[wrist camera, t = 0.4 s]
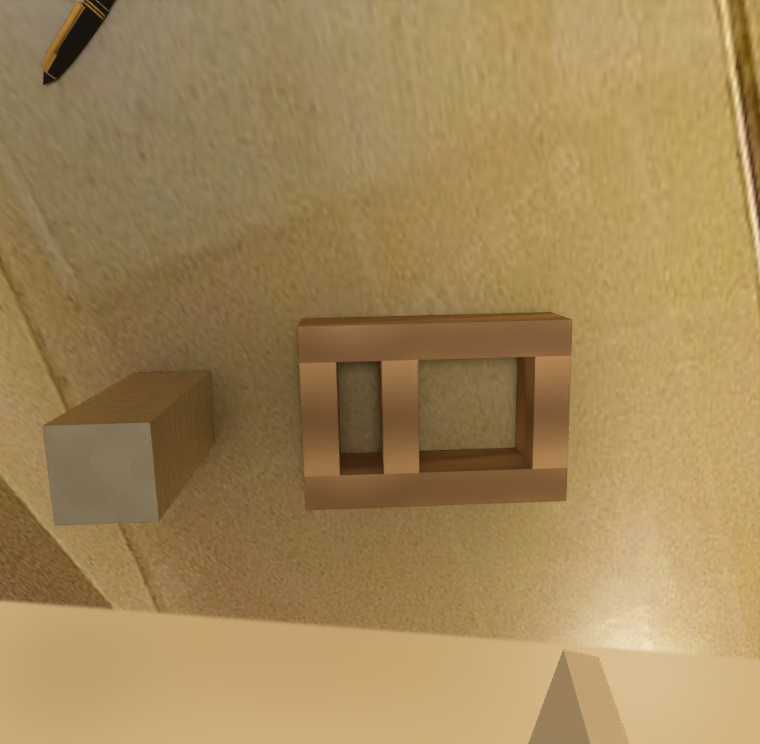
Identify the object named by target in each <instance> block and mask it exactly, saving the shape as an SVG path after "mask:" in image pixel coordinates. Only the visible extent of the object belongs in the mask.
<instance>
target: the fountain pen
mask: <svg viewBox="0 0 760 744" xmlns="http://www.w3.org/2000/svg"><path fill="white" fill-rule="evenodd" d="M113 2H114V0H84V1H83V2H82V4H81V3H80V2H77V4H76V5H75V7H74V9H73V10H72V12H71V13H70V15H69V17H68V18H67V20H66V22H65V23H64V25H63V26H62V28H61V30H60V31H59V33H58V35H57V36H56V38H55V40H54V41H53V43H52V44H51V46H50V48H49V49H48V52H47V54H46V56H45V58H44V60H43V62H42V64H41V67H42V68H43V70H44V77H43V85H44V84H46V83H49V82H51V81H53V80H56V79H57V78H58V77H59V76H60V75H61V74H62V73H63V72H64V71H65V70H66V69H67V68H68V67H69V65H70V64H71V63H72V62H73V60H74V59H75V58H76V57H77V55H78V54H79V53H80V51H81V50H82V49H83V48H84V46H85V45H86V44H87V42H88V41H89V40H90V38H91V37H92V35H93V34H94V33H95V31H96V30H97V28H98V27H99V25H100V24H101V23H102V21H103V20H104V18H105V17H106V15H107V14H108V13H109V8H110V6H111V5H112V3H113Z"/></svg>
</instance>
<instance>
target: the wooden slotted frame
mask: <svg viewBox="0 0 760 744" xmlns="http://www.w3.org/2000/svg"><path fill="white" fill-rule="evenodd" d="M571 345H572V319H569V318H566V317H563V316H560V315H557V314H554V313H551V312H547V313H508V314H468V315H429V316H389V317H350V318H311V319H302V321H301V322H300V324H299V325H298V350H299V372H300V394H301V416H302V439H303V461H304V483H305V506H306V510H325V509H353V508H381V507H409V506H436V505H464V504H492V503H520V502H548V501H566V492H567V462H568V433H569V404H570V374H571ZM505 357H517V402H516V448H498V449H467V450H437V451H419V409H418V360H433V359H469V358H505ZM361 361H379V386H380V432H381V452H376V453H346V454H341V441H340V411H339V381H338V362H361Z"/></svg>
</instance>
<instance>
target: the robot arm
mask: <svg viewBox="0 0 760 744" xmlns="http://www.w3.org/2000/svg"><path fill="white" fill-rule="evenodd" d="M529 744H629V742H628V739H627V736H626V733H625V730H624V727H623V725H622V722H621V719H620V716H619V713H618V710H617V708H616V705H615V702H614V700H613V697H612V694H611V691H610V688H609V685H608V682H607V679H606V677H605V674H604V671H603V668H602V665H601V663H600V660H599V658H598V657H595V656H590V655H586V654H582V653H577V652H573V651H569V650H564V649H563V652H562V655H561V657H560V660H559V662H558V666H557V668H556V671H555V673H554V676H553V679H552V681H551V685H550V687H549V690H548V692H547V695H546V698H545V700H544V703H543V706H542V708H541V711H540V714H539V717H538V719H537V722H536V725H535V727H534V730H533V733H532V736H531V738H530V741H529Z"/></svg>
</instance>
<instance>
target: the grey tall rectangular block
mask: <svg viewBox="0 0 760 744" xmlns="http://www.w3.org/2000/svg"><path fill="white" fill-rule="evenodd" d="M43 434H44V442H45V450H46V459H47V467H48V475H49V483H50V492H51V500H52V508H53V516H54V525H55V526H57V525H84V524H112V523H139V522H159V521H160V519H161V518H162V517H163V515H164V514H165V512H166V511H167V509H168V508H169V507H170V505H171V504H172V502H173V501H174V500H175V498H176V497H177V495H178V494H179V492H180V491H181V490H182V488H183V487H184V485H185V484H186V482H187V481H188V480H189V478H190V477H191V475H192V474H193V472H194V471H195V470H196V468H197V467H198V465H199V464H200V462H201V461H202V460H203V458H204V457H205V455H206V454H207V452H208V451H209V450H210V448H211V447H212V445H213V444H214V443H215V438H214V424H213V410H212V396H211V382H210V371H175V372H140V373H133V374H131V375H129V376H128V377H126V378H124V379H123V380H121V381H119V382H117V383H116V384H114V385H112V386H110V387H109V388H107V389H105V390H104V391H102V392H100V393H98V394H97V395H95V396H93V397H92V398H90V399H88V400H86V401H85V402H83V403H81V404H79V405H78V406H76V407H74V408H73V409H71V410H69V411H67V412H66V413H64V414H62V415H61V416H59V417H57V418H55V419H54V420H52V421H50V422H48V423H47V424H45V425H43Z"/></svg>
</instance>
